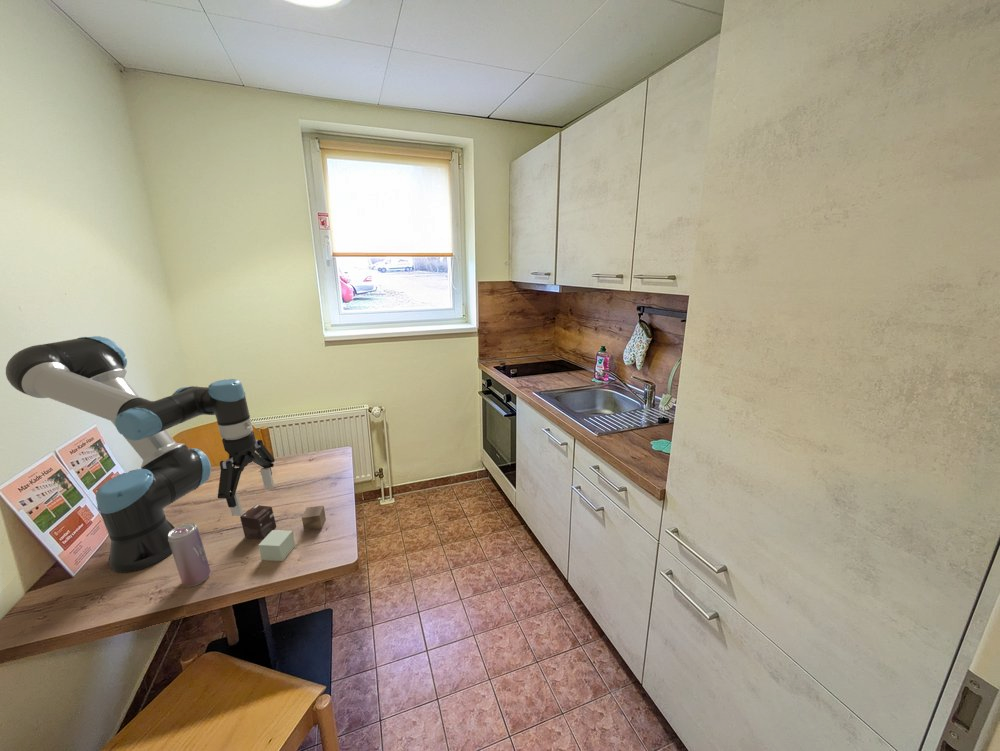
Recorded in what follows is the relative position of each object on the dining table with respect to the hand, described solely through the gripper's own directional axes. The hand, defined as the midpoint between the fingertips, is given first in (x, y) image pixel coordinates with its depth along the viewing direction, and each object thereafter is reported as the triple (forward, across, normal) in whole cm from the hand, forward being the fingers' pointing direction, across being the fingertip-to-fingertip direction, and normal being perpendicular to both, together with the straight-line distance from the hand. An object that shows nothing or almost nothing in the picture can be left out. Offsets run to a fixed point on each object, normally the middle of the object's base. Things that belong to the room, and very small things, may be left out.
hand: (254, 500), depth 114 cm
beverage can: (+11, -18, +5) cm, 22 cm away
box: (+11, 0, +1) cm, 11 cm away
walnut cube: (+12, +4, -14) cm, 19 cm away
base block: (+11, -8, -10) cm, 17 cm away
